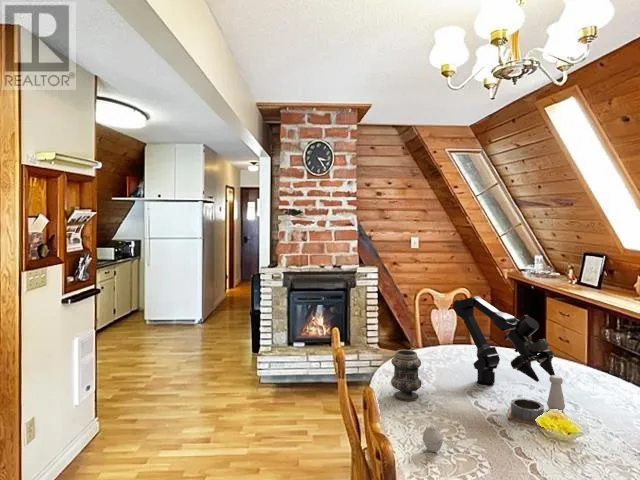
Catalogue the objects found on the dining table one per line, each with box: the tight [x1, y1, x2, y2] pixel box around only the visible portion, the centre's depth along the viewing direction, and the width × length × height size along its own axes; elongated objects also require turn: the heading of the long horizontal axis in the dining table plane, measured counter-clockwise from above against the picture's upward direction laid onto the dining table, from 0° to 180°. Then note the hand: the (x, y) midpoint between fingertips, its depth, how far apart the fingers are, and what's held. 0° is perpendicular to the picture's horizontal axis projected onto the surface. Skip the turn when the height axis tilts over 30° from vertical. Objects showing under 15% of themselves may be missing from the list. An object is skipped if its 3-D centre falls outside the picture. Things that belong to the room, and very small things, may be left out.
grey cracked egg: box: [422, 425, 444, 453], centre depth 131 cm, size 6×7×7 cm
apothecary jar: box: [390, 349, 422, 402], centre depth 173 cm, size 12×12×18 cm
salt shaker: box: [546, 374, 566, 413], centre depth 158 cm, size 6×6×13 cm
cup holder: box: [507, 398, 547, 427], centre depth 153 cm, size 12×12×4 cm
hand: (546, 379), depth 161 cm, fingers open, 9 cm apart
